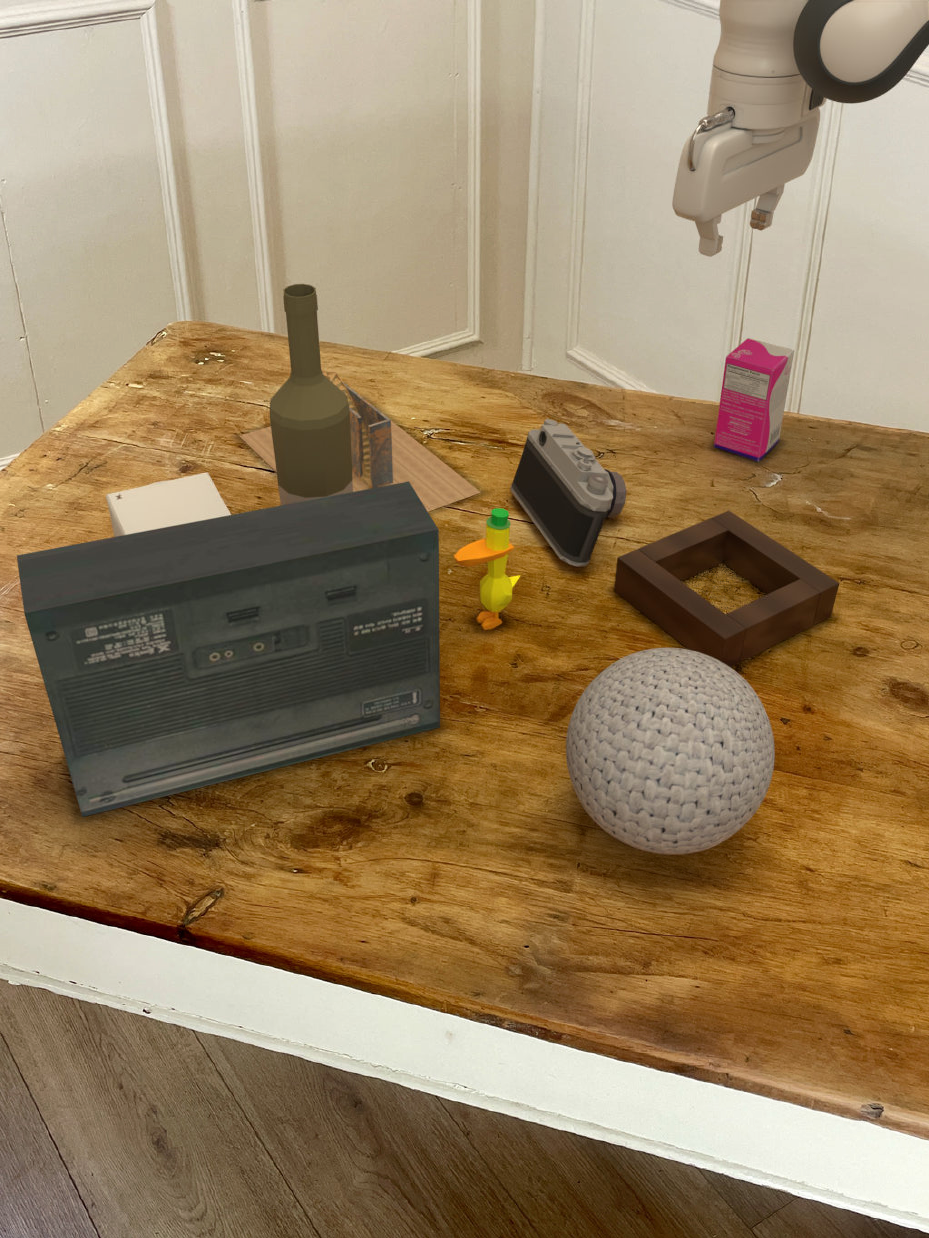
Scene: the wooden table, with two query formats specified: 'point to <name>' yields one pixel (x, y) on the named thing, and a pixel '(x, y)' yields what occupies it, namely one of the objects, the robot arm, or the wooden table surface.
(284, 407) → the bottle
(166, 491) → the white product box
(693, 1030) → the wooden table surface
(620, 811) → the decorative ball
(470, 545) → the toy figure
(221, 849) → the wooden table surface
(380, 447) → the architectural model on board
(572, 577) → the wooden table surface
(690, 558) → the wooden frame
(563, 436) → the camera
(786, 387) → the supplement box
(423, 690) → the cassette player
